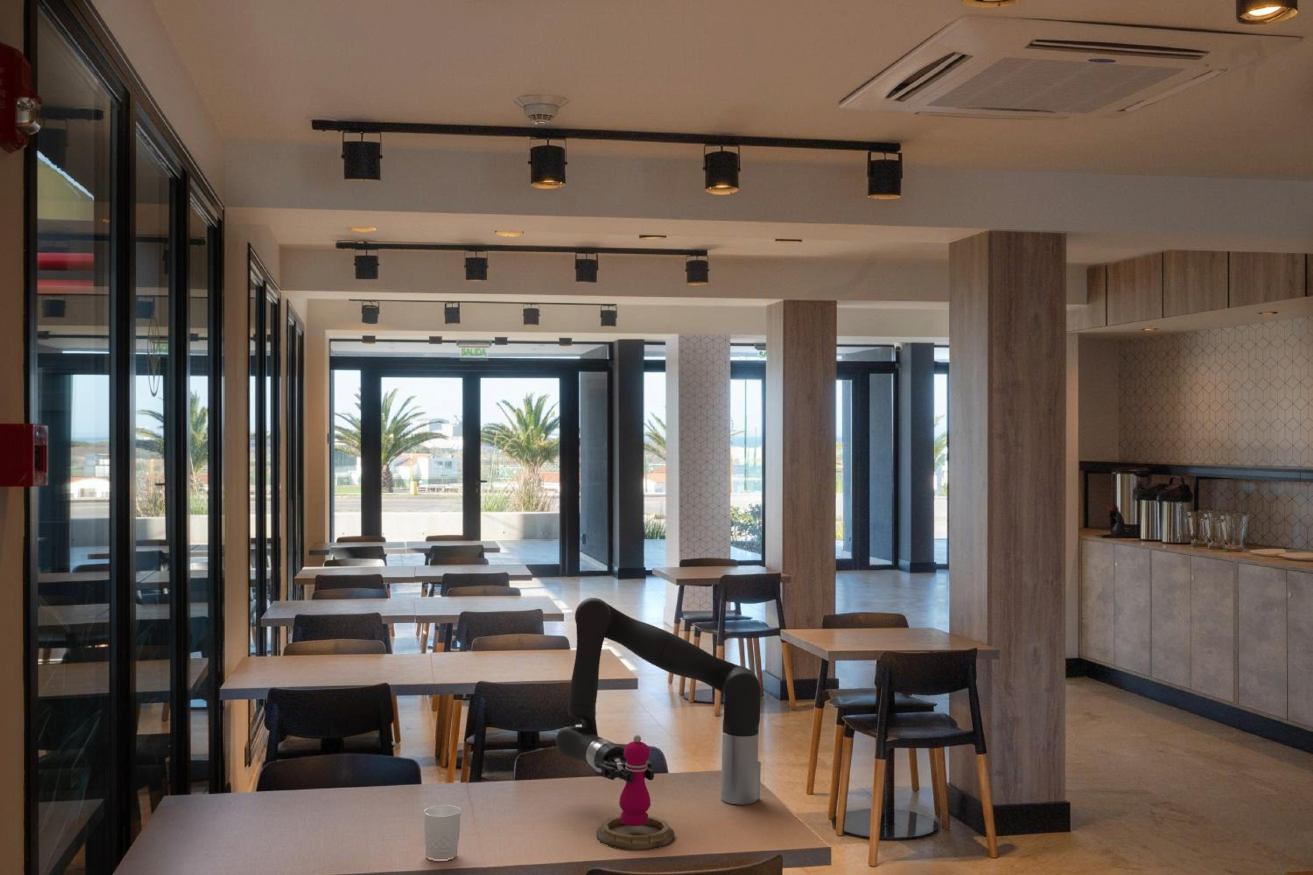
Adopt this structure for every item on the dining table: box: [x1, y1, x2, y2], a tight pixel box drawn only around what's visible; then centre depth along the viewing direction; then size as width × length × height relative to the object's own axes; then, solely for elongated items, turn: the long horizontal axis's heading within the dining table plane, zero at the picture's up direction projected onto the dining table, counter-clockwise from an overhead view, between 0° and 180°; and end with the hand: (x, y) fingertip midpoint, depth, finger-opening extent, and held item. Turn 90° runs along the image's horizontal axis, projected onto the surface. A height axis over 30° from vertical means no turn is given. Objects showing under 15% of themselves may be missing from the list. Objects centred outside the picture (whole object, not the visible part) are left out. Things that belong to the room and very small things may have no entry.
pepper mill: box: [618, 734, 652, 826], centre depth 270 cm, size 7×7×20 cm
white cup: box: [423, 804, 462, 859], centre depth 255 cm, size 8×8×10 cm
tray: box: [595, 815, 675, 851], centre depth 270 cm, size 18×18×2 cm
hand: (641, 776), depth 268 cm, fingers closed on pepper mill, 4 cm apart
